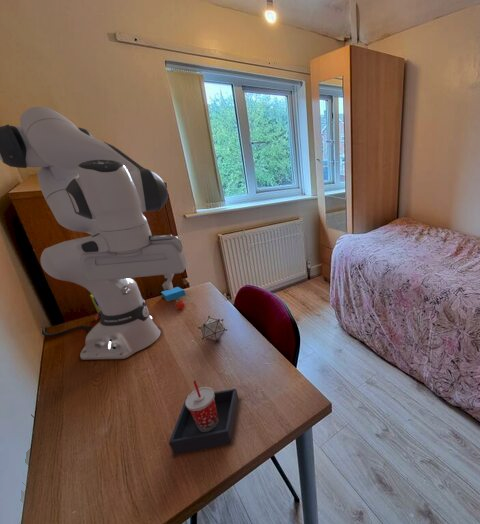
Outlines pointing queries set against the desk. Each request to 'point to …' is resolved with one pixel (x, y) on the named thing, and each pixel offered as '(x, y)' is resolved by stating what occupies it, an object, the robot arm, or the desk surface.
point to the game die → (212, 329)
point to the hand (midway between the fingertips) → (147, 291)
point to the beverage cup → (203, 408)
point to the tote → (193, 439)
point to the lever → (175, 296)
